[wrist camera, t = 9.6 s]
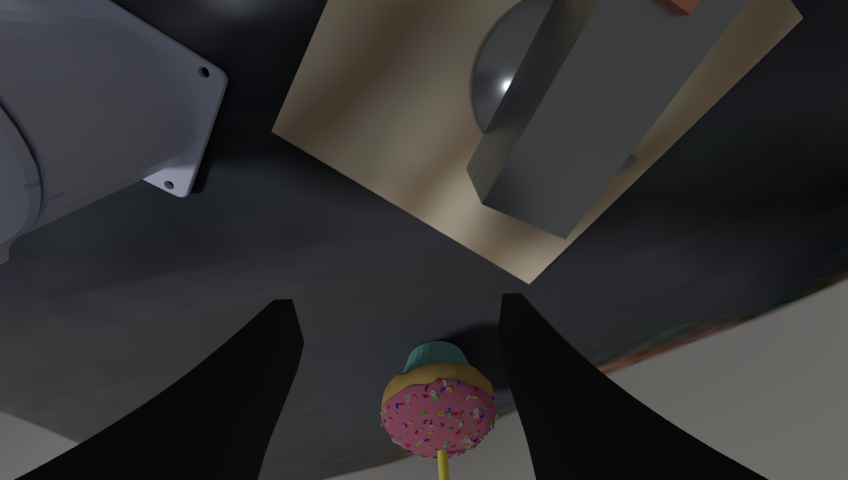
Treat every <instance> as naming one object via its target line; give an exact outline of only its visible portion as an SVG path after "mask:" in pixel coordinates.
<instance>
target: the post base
mask: <svg viewBox="0 0 848 480" xmlns="http://www.w3.org/2000/svg"><path fill="white" fill-rule="evenodd" d="M519 1H521V0H328V1H327V4H326V6H325V8H324V11H323V13H322V15H321V18H320V20H319V22H318V25H317V27H316V29H315V32H314V34H313V36H312V39H311V41H310V43H309V45H308V48H307V50H306V52H305V55H304V57H303V59H302V62H301V64H300V66H299V69H298V71H297V73H296V76H295V78H294V80H293V83H292V85H291V87H290V90H289V92H288V94H287V97H286V99H285V101H284V104H283V106H282V108H281V111H280V113H279V115H278V118H277V120H276V122H275V124H274V127H273V129H272V131H271V132H273V133H275V134H276V135H278V136H280V137H281V138H283V139H285V140H286V141H288V142H290V143H292V144H293V145H295V146H297V147H298V148H300V149H302V150H303V151H305V152H307V153H308V154H310V155H312V156H314V157H315V158H317V159H319V160H320V161H322V162H324V163H325V164H327V165H329V166H330V167H332V168H334V169H335V170H337V171H339V172H341V173H342V174H344V175H346V176H347V177H349V178H351V179H352V180H354V181H356V182H357V183H359V184H361V185H362V186H364V187H366V188H368V189H369V190H371V191H373V192H374V193H376V194H378V195H379V196H381V197H383V198H384V199H386V200H388V201H389V202H391V203H393V204H395V205H396V206H398V207H400V208H401V209H403V210H405V211H406V212H408V213H410V214H411V215H413V216H415V217H417V218H418V219H420V220H422V221H423V222H425V223H427V224H428V225H430V226H432V227H433V228H435V229H437V230H438V231H440V232H442V233H444V234H445V235H447V236H449V237H450V238H452V239H454V240H455V241H457V242H459V243H460V244H462V245H464V246H465V247H467V248H469V249H471V250H472V251H474V252H476V253H477V254H479V255H481V256H482V257H484V258H486V259H487V260H489V261H491V262H493V263H494V264H496V265H498V266H499V267H501V268H503V269H504V270H506V271H508V272H509V273H511V274H513V275H514V276H516V277H518V278H520V279H521V280H523V281H525V282H526V283H528V284H530V283H531V282H532V281H533V280H534V279H535V278H536V277H537V276H538V275H539V274H540V273H541V272H542V271H543V270H544V269H545V268H546V267H547V266H548V265H549V264H550V263H552V262H553V261H554V260H555V259H556V258H557V257H558V256H559V255H560V254H561V253H562V252H563V251H564V250H565V249H566V248H567V247H568V246H569V245H570V244H571V243H572V242H573V241H574V240H575V239H576V238H577V237H578V236H579V235H580V234H581V233H582V232H583V231H584V230H586V229H587V228H588V227H589V226H590V225H591V224H592V223H593V222H594V221H595V220H596V219H597V218H598V217H599V216H600V215H601V214H602V213H603V212H604V211H605V210H606V209H607V208H608V207H609V206H610V205H611V204H612V203H613V202H614V201H615V200H616V199H617V198H619V197H620V196H621V195H622V194H623V193H624V192H625V191H626V190H627V189H628V188H629V187H630V186H631V185H632V184H633V183H634V182H635V181H636V180H637V179H638V178H639V177H640V176H641V175H642V174H643V173H644V172H645V171H646V170H647V169H648V168H649V167H650V166H652V165H653V164H654V163H655V162H656V161H657V160H658V159H659V158H660V157H661V156H662V155H663V154H664V153H665V152H666V151H667V150H668V149H669V148H670V147H671V146H672V145H673V144H674V143H675V142H676V141H677V140H678V139H679V138H680V137H681V136H682V135H683V134H685V133H686V132H687V131H688V130H689V129H690V128H691V127H692V126H693V125H694V124H695V123H696V122H697V121H698V120H699V119H700V118H701V117H702V116H703V115H704V114H705V113H706V112H707V111H708V110H709V109H710V108H711V107H712V106H713V105H714V104H715V103H716V102H718V101H719V100H720V99H721V98H722V97H723V96H724V95H725V94H726V93H727V92H728V91H729V90H730V89H731V88H732V87H733V86H734V85H735V84H736V83H737V82H738V81H739V80H740V79H741V78H742V77H743V76H744V75H745V74H746V73H747V72H748V71H749V70H751V69H752V68H753V67H754V66H755V65H756V64H757V63H758V62H759V61H760V60H761V59H762V58H763V57H764V56H765V55H766V54H767V53H768V52H769V51H770V50H771V49H772V48H773V47H774V46H775V45H776V44H777V43H778V42H779V41H780V40H781V39H782V38H784V37H785V36H786V35H787V34H788V33H789V32H790V31H791V30H792V29H793V28H794V27H795V26H796V25H797V24H798V23H799V22H800V21H801V20H802V19H803V17H802V15H801V14H800V13H799V11H798V10H797V8H796V7H795V6H794V4H793V3H792V1H791V0H748V1H747V2H746V3H745V5H744V6H743V7H742V9H741V10H740V11H739V13H738V14H737V15H736V16H735V18H734V19H733V20H732V22H731V23H730V24H729V26H728V27H727V28H726V30H725V31H724V32H723V34H722V35H721V36H720V37H719V39H718V40H717V41H716V43H715V44H714V45H713V47H712V48H711V49H710V51H709V52H708V53H707V55H706V56H705V57H704V59H703V60H702V61H701V62H700V64H699V65H698V66H697V68H696V69H695V70H694V72H693V73H692V74H691V76H690V77H689V78H688V80H687V81H686V82H685V83H684V85H683V86H682V87H681V89H680V90H679V91H678V93H677V94H676V95H675V97H674V98H673V99H672V101H671V102H670V103H669V105H668V106H667V107H666V108H665V110H664V111H663V112H662V114H661V115H660V116H659V118H658V119H657V120H656V122H655V123H654V124H653V126H652V127H651V128H650V129H649V131H648V132H647V133H646V135H645V136H644V137H643V139H642V140H641V141H640V143H639V144H638V145H637V147H636V148H635V149H634V151H633V152H632V153H631V154H630V156H629V157H628V158H627V160H626V161H625V162H624V164H623V165H622V166H621V168H620V169H619V170H618V172H617V173H616V174H615V175H614V177H613V178H612V179H611V181H610V182H609V183H608V185H607V186H606V187H605V189H604V190H603V191H602V193H601V194H600V195H599V196H598V198H597V199H596V200H595V202H594V203H593V204H592V206H591V207H590V208H589V210H588V211H587V212H586V214H585V215H584V216H583V218H582V219H581V220H580V221H579V223H578V224H577V225H576V227H575V228H574V229H573V231H572V232H571V233H570V235H569V236H568V237H567V239H566V240H565V239H563V238H560V237H558V236H556V235H553V234H551V233H549V232H546V231H544V230H541V229H539V228H537V227H534V226H532V225H530V224H527V223H525V222H522V221H520V220H518V219H515V218H513V217H511V216H508V215H506V214H503V213H501V212H499V211H496V210H494V209H492V208H489V207H487V206H485V205H482V204H481V202H480V199H479V197H478V195H477V193H476V190H475V188H474V186H473V183H472V181H471V179H470V177H469V174H468V172H467V170H466V167H467V165H468V163H469V161H470V160H471V158H472V156H473V154H474V152H475V150H476V148H477V146H478V144H479V142H480V140H481V139H482V137H483V134H482V133H481V132H480V130H479V128H478V126H477V124H476V123H475V120H474V117H473V114H472V110H471V106H470V98H469V81H470V74H471V69H472V65H473V61H474V58H475V56H476V53H477V50H478V48H479V46H480V44H481V42H482V40H483V38H484V37H485V35H486V34H487V32H488V31H489V29H490V28H491V26H492V25H493V24H494V23H495V22H496V21H497V19H498V18H499V17H500V16H501V15H502V14H503V13H505V12H506V11H507V10H508V9H509V8H510V7H512V6H513V5H515V4H516V3H517V2H519Z"/></svg>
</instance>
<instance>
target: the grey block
mask: <svg viewBox="0 0 848 480" xmlns="http://www.w3.org/2000/svg"><path fill="white" fill-rule="evenodd" d="M747 1H748V0H521V1H519V2H517V3H516V4H515V5H513V6H512V7H510V8H509V9H508V10H507V11H506V12H505V13H503V14H502V15H501V16H500V17H499V18H498V19H497V21H496V22H495V23H494V24H493V25H492V26H491V28H490V29H489V31H488V32H487V34H486V35H485V37H484V38H483V40H482V42H481V44H480V46H479V48H478V50H477V53H476V56H475V58H474V61H473V65H472V69H471V74H470V81H469V98H470V106H471V110H472V114H473V117H474V120H475V123H476V124H477V126H478V128H479V130H480V132H481V133H482V134H483V137H482V139H481V140H480V142H479V144H478V146H477V148H476V150H475V152H474V154H473V156H472V158H471V160H470V161H469V163H468V165H467V167H466V170H467V172H468V174H469V177H470V179H471V181H472V183H473V186H474V188H475V190H476V193H477V195H478V197H479V199H480V202H481V204H482V205H485V206H487V207H489V208H492V209H494V210H496V211H499V212H501V213H503V214H506V215H508V216H511V217H513V218H515V219H518V220H520V221H522V222H525V223H527V224H530V225H532V226H534V227H537V228H539V229H541V230H544V231H546V232H549V233H551V234H553V235H556V236H558V237H560V238H563V239H565V240H566V239H567V237H568V236H569V235H570V233H571V232H572V231H573V229H574V228H575V227H576V225H577V224H578V223H579V221H580V220H581V219H582V218H583V216H584V215H585V214H586V212H587V211H588V210H589V208H590V207H591V206H592V204H593V203H594V202H595V200H596V199H597V198H598V196H599V195H600V194H601V193H602V191H603V190H604V189H605V187H606V186H607V185H608V183H609V182H610V181H611V179H612V178H613V177H614V175H615V174H616V173H617V172H618V170H619V169H620V168H621V166H622V165H623V164H624V162H625V161H626V160H627V158H628V157H629V156H630V154H631V153H632V152H633V151H634V149H635V148H636V147H637V145H638V144H639V143H640V141H641V140H642V139H643V137H644V136H645V135H646V133H647V132H648V131H649V129H650V128H651V127H652V126H653V124H654V123H655V122H656V120H657V119H658V118H659V116H660V115H661V114H662V112H663V111H664V110H665V108H666V107H667V106H668V105H669V103H670V102H671V101H672V99H673V98H674V97H675V95H676V94H677V93H678V91H679V90H680V89H681V87H682V86H683V85H684V83H685V82H686V81H687V80H688V78H689V77H690V76H691V74H692V73H693V72H694V70H695V69H696V68H697V66H698V65H699V64H700V62H701V61H702V60H703V59H704V57H705V56H706V55H707V53H708V52H709V51H710V49H711V48H712V47H713V45H714V44H715V43H716V41H717V40H718V39H719V37H720V36H721V35H722V34H723V32H724V31H725V30H726V28H727V27H728V26H729V24H730V23H731V22H732V20H733V19H734V18H735V16H736V15H737V14H738V13H739V11H740V10H741V9H742V7H743V6H744V5H745V3H746V2H747Z"/></svg>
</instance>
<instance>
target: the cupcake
mask: <svg viewBox="0 0 848 480" xmlns="http://www.w3.org/2000/svg"><path fill="white" fill-rule="evenodd" d="M496 409H497V403H496V400H495V398H494V393H493V388H492V384H491V383H490V381H489V380H488V379H487V378H486V377H484V376H483V375H482V374H481V373H480V372H479V371H478V370H477V369H476V368H474V367H473V366H471V365H469V363H468V361H467V359H466V358H465V356H464V354H463V352H462V351H461V349H460V348H458V347H457V346H456V345H454V344H452V343H449V342H445V341H431V342H426V343H424V344H421V345H419V346H418V347H416V348H415V349H414V350H413V351H412V352H411V354H410V356H409V359H408V362H407V364H406V367H405V369H404V372H403V373H400V374H397V375H396V376H395V377H394V378H393V379H392V380H391V381H390V382H389V383H388V385H387V387H386V389H385V392H384V395H383V400H382V412H381V413H380V414H381V415H382V417H381V420H382V422H381V426H382V427H385V429H386V431H387V433H388V434H389V435H390V436H391V437H392V441H393V440H394V441H393V442H394V443H396V444H399V445H400V446H401V448H402V449H403V450H406V449H407V450H408V452H412V453H414V454H416V455H419V456H423V457H433V458H438V464H439V479H440V480H449V468H448V458H451V456H454V455H455V456H458V455H459V454H460V453H461V454H463V453H464V452H465V451H466V450H470V449H473V448H475V447H476V446H477V445H478V444H479V443H480V441H481V440H483V439H484V437H486V436H487V435H488V432H489V431H490V430H491V429H490V428H492V429H493V428H494V423H495V421H494V420H495V418H496V417H497V412H496ZM382 423H383V425H382Z"/></svg>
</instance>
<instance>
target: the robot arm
mask: <svg viewBox="0 0 848 480" xmlns="http://www.w3.org/2000/svg"><path fill="white" fill-rule="evenodd" d="M203 67H205V68H206V69H207V70H208V71H209V77H206V76H205V75H204V74H203V72H202V69H203ZM227 84H228V79H227V76H226V74H225V72H224V71H222V70H221V69H220V68H218V67H217V66H215V65H213V64H212V63H210V62H209V61H207V60H205V59H204V58H202V57H201V56H199V55H197V54H196V53H194V52H192V51H191V50H189V49H188V48H186V47H184V46H183V45H181V44H180V43H178V42H176V41H175V40H173V39H172V38H170V37H168V36H167V35H165V34H164V33H162V32H160V31H159V30H157V29H155V28H154V27H152V26H151V25H149V24H147V23H146V22H144V21H143V20H141V19H139V18H138V17H136V16H135V15H133V14H131V13H130V12H128V11H127V10H125V9H123V8H122V7H120V6H118V5H117V4H115V3H114V2H112V1H110V0H0V264H2V263H4V262H6V261H8V260H9V253H8V251H9V246H10V244H11V243H12V241H14V240H15V239H16V238H17V237H19V236H21V235H24V234H26V233H28V232H30V231H32V230H35V229H37V228H39V227H41V226H43V225H45V224H47V223H50V222H52V221H54V220H56V219H58V218H60V217H62V216H65V215H67V214H69V213H71V212H73V211H75V210H77V209H80V208H82V207H84V206H86V205H88V204H90V203H92V202H95V201H97V200H99V199H101V198H103V197H105V196H107V195H110V194H112V193H114V192H116V191H118V190H120V189H122V188H125V187H127V186H129V185H131V184H133V183H135V182H137V181H140V180H142V179H143V180H145V181H147V182H149V183H151V184H153V185H155V186H157V187H159V188H161V189H163V190H166V191H168V192H170V193H172V194H174V195H176V196H178V197H185V196H187V195H188V194H189V193H190V192H191V189H192V186H193V183H194V181H195V178H196V175H197V172H198V169H199V166H200V163H201V160H202V157H203V154H204V151H205V149H206V146H207V143H208V140H209V137H210V134H211V131H212V128H213V125H214V122H215V119H216V116H217V114H218V111H219V108H220V105H221V102H222V99H223V96H224V93H225V90H226V87H227ZM169 181H170V182H172V183H173V185H174V187H173V186H171V185H170V184H169ZM497 338H498V344H499V349H500V354H501V359H502V363H503V367H504V370H505V373H506V377H507V380H508V383H509V386H510V389H511V392H512V395H513V398H514V401H515V404H516V407H517V410H518V413H519V416H520V419H521V423H522V426H523V428H524V432H525V435H526V439H527V442H528V446H529V451H530V455H531V459H532V464H533V468H534V472H535V476H536V480H768V479H766V478H765V477H763V476H761V475H759V474H757V473H756V472H754V471H752V470H750V469H749V468H747V467H745V466H743V465H741V464H740V463H738V462H736V461H734V460H732V459H730V458H729V457H727V456H725V455H723V454H722V453H720V452H718V451H716V450H714V449H713V448H711V447H709V446H708V445H706V444H705V443H703V442H701V441H700V440H698V439H696V438H695V437H693V436H692V435H690V434H688V433H686V432H685V431H683V430H682V429H680V428H678V427H677V426H675V425H674V424H672V423H671V422H669V421H668V420H666V419H664V418H663V417H662V416H660V415H659V414H657V413H656V412H654V411H653V410H651V409H650V408H649V407H647V406H646V405H644V404H643V403H641V402H640V401H638V400H637V399H636V398H634V397H633V396H632V395H630V394H629V393H627V392H626V391H625V390H623V389H622V388H621V387H619V386H618V385H617V384H616V383H614V382H613V381H612V380H611V379H609V378H608V377H607V376H606V375H604V374H603V373H602V372H600V371H599V370H598V369H597V368H596V367H595V366H593V365H592V364H591V363H590V362H589V361H588V360H586V359H585V358H584V357H583V356H582V355H581V354H580V353H579V352H578V351H576V350H575V349H574V348H573V347H572V346H571V345H570V344H569V343H568V342H567V341H566V340H565V339H564V338H563V337H562V336H561V335H560V334H559V333H558V332H557V331H556V330H555V329H554V328H553V327H552V326H551V325H550V324H549V323H548V322H547V321H546V320H545V319H544V318H543V317H542V316H541V314H540V313H539V312H538V311H537V310H536V309H535V308H534V307H533V306H532V305H531V304H530V303H529V301H528V300H527V299H526V298H525V297H524V296H523V295H522V294H521V293H514V294H503V297H502V305H501V312H500V320H499V327H498V335H497ZM303 346H304V339H303V336H302V332H301V329H300V325H299V322H298V318H297V315H296V311H295V307H294V304H293V300H292V299H286V300H274V301H272V302H271V303H270V304H269V305H268V306H266V307H265V308H264V309H263V310H262V311H261V312H260V313H258V314H257V315H256V316H255V317H254V318H253V319H252V320H251V321H250V322H248V323H247V324H246V325H245V326H244V327H243V328H242V329H240V330H239V331H238V332H237V333H236V334H235V335H234V336H232V337H231V338H230V339H229V340H228V341H227V342H226V343H224V344H223V345H222V346H221V347H220V348H218V349H217V350H216V351H215V352H213V353H212V354H211V355H210V356H208V357H207V358H206V359H205V360H204V361H202V362H201V363H200V364H199V365H197V366H196V367H195V368H194V369H192V370H191V371H190V372H189V373H187V374H186V375H185V376H183V377H182V378H181V379H179V380H178V381H176V382H175V383H174V384H172V385H171V386H170V387H168V388H167V389H165V390H164V391H162V392H161V393H160V394H158V395H157V396H155V397H154V398H152V399H151V400H150V401H148V402H147V403H145V404H143V405H142V406H140V407H139V408H137V409H136V410H134V411H132V412H131V413H129V414H128V415H126V416H125V417H123V418H122V419H120V420H118V421H117V422H115V423H114V424H112V425H111V426H109V427H107V428H106V429H104V430H103V431H101V432H99V433H98V434H96V435H94V436H92V437H91V438H89V439H87V440H86V441H84V442H82V443H80V444H79V445H77V446H76V447H74V448H72V449H70V450H68V451H66V452H65V453H63V454H61V455H59V456H58V457H56V458H54V459H52V460H51V461H49V462H47V463H45V464H43V465H41V466H39V467H38V468H36V469H34V470H32V471H30V472H28V473H26V474H25V475H22V476H20V477H19V478H17V479H15V480H257V479H258V476H259V472H260V469H261V466H262V462H263V459H264V455H265V452H266V449H267V447H268V444H269V441H270V438H271V436H272V433H273V431H274V428H275V426H276V423H277V421H278V418H279V415H280V413H281V410H282V408H283V405H284V403H285V400H286V398H287V395H288V393H289V390H290V388H291V385H292V383H293V380H294V377H295V375H296V372H297V369H298V365H299V362H300V358H301V354H302V350H303Z"/></svg>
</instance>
